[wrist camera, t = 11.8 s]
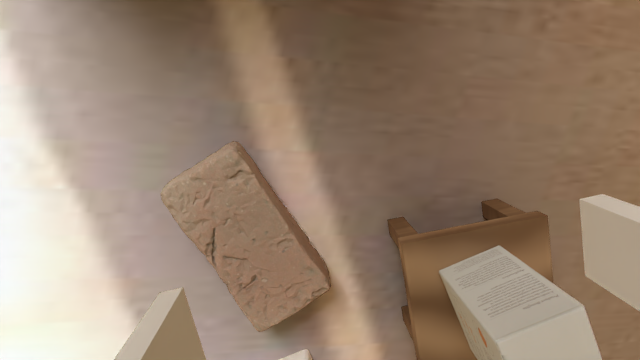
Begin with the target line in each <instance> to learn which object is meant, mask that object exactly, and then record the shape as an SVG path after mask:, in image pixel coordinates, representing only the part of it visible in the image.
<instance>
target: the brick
mask: <svg viewBox="0 0 640 360" xmlns="http://www.w3.org/2000/svg"><path fill="white" fill-rule="evenodd" d="M161 196H162V201H163V203H164V204H165V206H166V207H167V208H168V210H169V211H170V213H171V214H172V216H173V218H174V219H175V220H176V221H177V223H178V224H179V226H180V228H181V229H182V230H183V232H184V233H185V234H186V235H187V236H188V238H190V239H191V240H192V241H193V242H194V243H195V244H196V246H197V248H198V249H199V250H200V251H201V252H202V253H203V254H204V255H206V258H207V260H208V261H209V262H210V264H211V265H213V267H214V268H215V270H216V271H217V273H218V275H219V276H220V279H222V280H223V282H224V283H225V284H226V285H227V287H228V289H229V292H230V293H231V294H232V295H233V297H234V299H235V301H236V302H237V304H238V305H239V307H240V308H241V310H242V311H243V312H244V314H245V315H246V316H247V318H248V319H249V320H250V321H251V323H252V324H253V326H254V328H255V329H256V330H257V331H258V332H260V331H265V330H267V329H268V328H270V327H272V326H273V325H274V324H278V323H280V322H281V321H283V320H285V319H286V318H288V317H290V316H292V315H293V314H295V313H296V312H298V311H300V310H301V309H303V308H304V307H305V306H306V305H308V304H309V303H311V302H312V301H314V300H315V299H316V298H318V297H319V296H321V295H322V294H323V293H325V292H327V291H328V290H329V289H330V287H331V284H330V277H329V271H328V269H327V266H326V264H325V262H324V261H323V259H322V258H321V257H320V255H319V254H318V253H317V251H316V249H314V248H313V247H312V246H311V245H310V243H309V240H308V238H307V236H306V235H305V234H304V233H303V231H302V230H301V229H300V227H299V226H298V224H297V223H296V221H295V220H294V218H293V217H292V216H291V214H290V213H289V212H288V211H287V210H286V208H285V206H284V205H283V204H282V203H281V201H280V200H279V199H278V197H277V196H276V194H275V193H274V192H273V190H272V189H271V187H270V185H269V184H268V183H267V182H266V180H265V179H264V178H263V176H262V175H261V173H260V171H259V170H258V168H257V166H256V164H255V162H254V161H253V160H252V158H251V157H250V156H249V155H248V154H247V152H246V151H245V149H244V148H243V147H242V146H241V144H240V143H239V142H234V141H233V142H231V143H228V144H227V145H225V146H224V147H222V148H220V149H219V150H218V151H217V152H215V153H214V154H211V155H209V156H208V157H207V158H206V159H204V160H202V161H201V162H199V163H197V164H196V165H195V166H194V167H192V168H189V169H187V170H185V171H184V172H182V173H181V174H180V175H179V176H177V177H176V178H174V179H172V180H171V181H170V182H169V183H168V184H167V185H166V186H165V187H164V188H163V190H162V192H161Z"/></svg>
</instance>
